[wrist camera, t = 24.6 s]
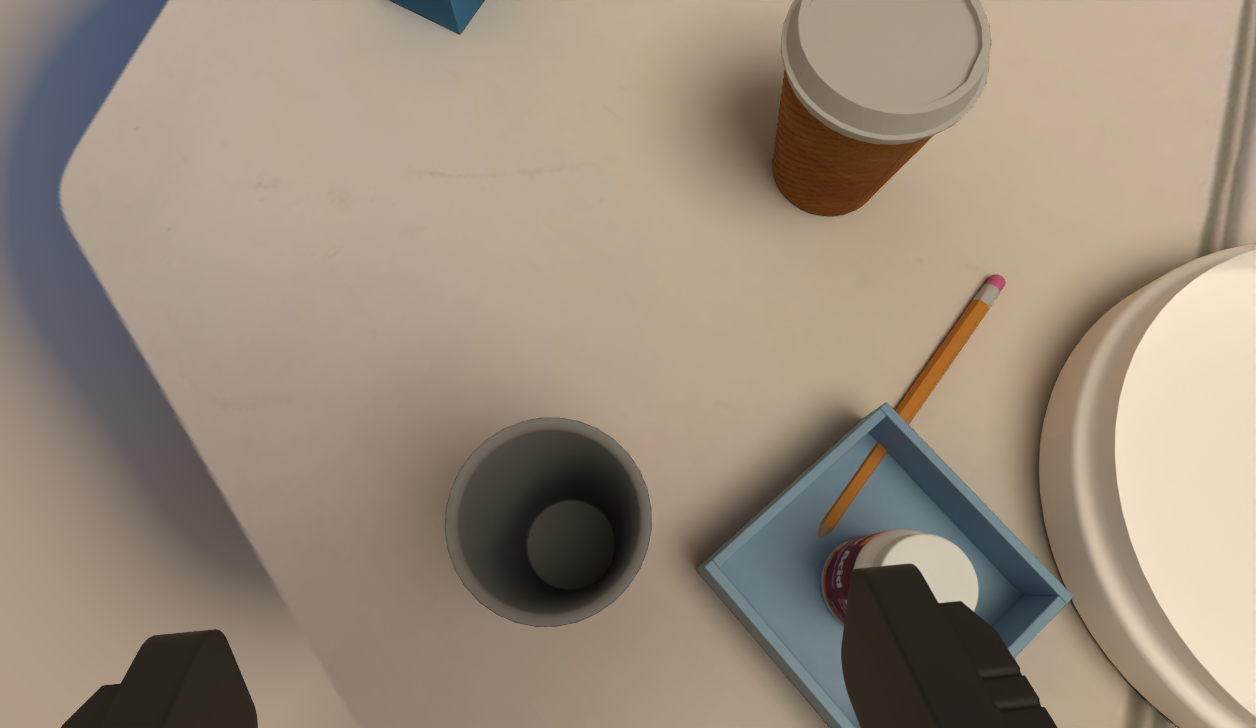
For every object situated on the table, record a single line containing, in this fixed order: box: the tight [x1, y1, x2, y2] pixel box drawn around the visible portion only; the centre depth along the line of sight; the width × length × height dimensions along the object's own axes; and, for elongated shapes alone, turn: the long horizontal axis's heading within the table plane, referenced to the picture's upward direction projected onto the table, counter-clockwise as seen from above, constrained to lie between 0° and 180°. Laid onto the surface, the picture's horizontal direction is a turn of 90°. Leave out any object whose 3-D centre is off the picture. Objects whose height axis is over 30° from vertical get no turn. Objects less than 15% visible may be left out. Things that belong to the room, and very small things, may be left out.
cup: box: [445, 418, 651, 627], centre depth 34 cm, size 7×7×15 cm
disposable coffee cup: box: [772, 0, 991, 216], centre depth 41 cm, size 10×10×12 cm
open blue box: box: [696, 402, 1073, 728], centre depth 39 cm, size 12×12×4 cm
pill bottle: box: [821, 529, 979, 626], centre depth 36 cm, size 5×5×8 cm
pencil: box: [818, 275, 1006, 538], centre depth 43 cm, size 1×1×19 cm
